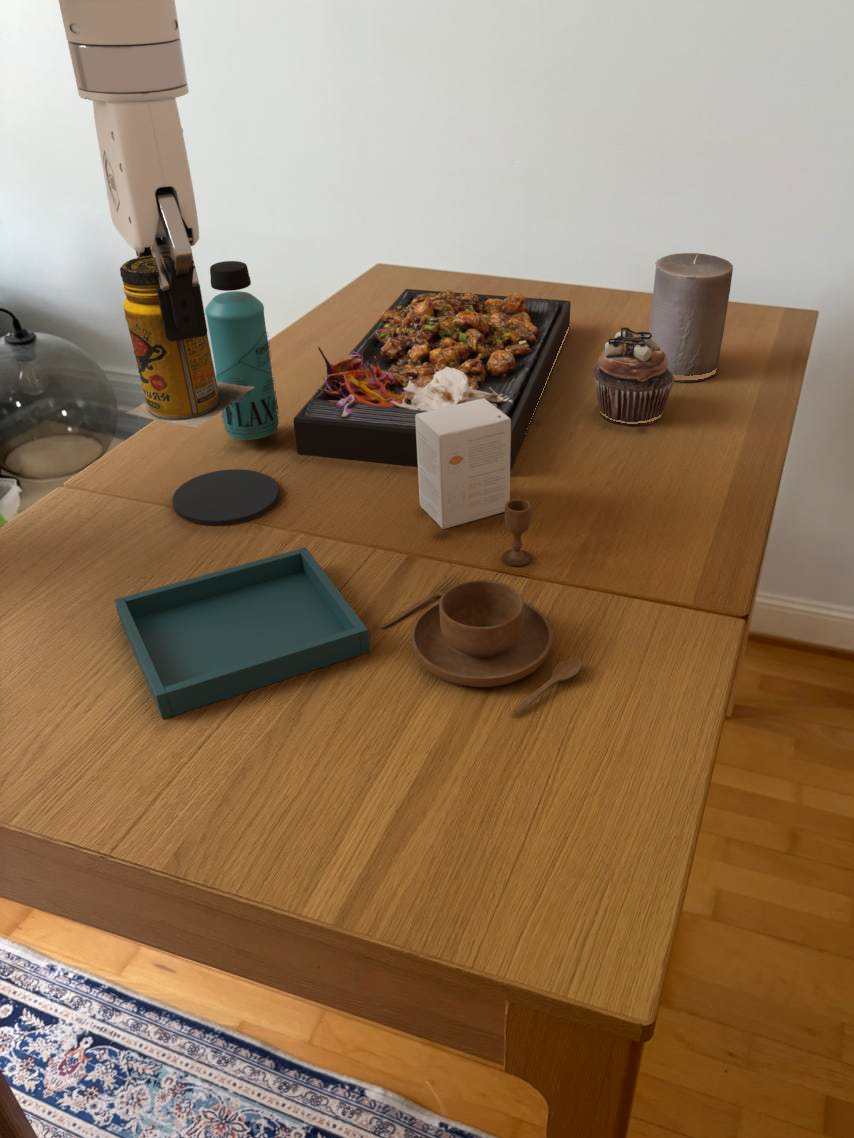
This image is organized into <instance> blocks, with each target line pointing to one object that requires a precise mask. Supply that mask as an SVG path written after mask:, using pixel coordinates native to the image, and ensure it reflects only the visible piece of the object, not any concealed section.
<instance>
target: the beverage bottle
mask: <svg viewBox="0 0 854 1138" xmlns="http://www.w3.org/2000/svg"><path fill="white" fill-rule="evenodd" d="M209 275H210V276H209V277H210V287H211V288H212V289H214V290H216V291H221V292H222V291H223V292H222V293H219V294H217V295H215V296H214V297H213V298H212V299H211V300H210V301H209V302H208V303H207V305H206V306H205V308H204V314H205V317H206V322H207V326H208V327H207V328H208V332H209V333H208V334H209V339H210V344H211V350H212V355H213V356H212V358H213V364H214V370H215V377H216V382H222V383H227V384H235V385H240V386H245V387H246V386H251V387H254V388H253V389H251V390H249V391H248V392H247V393H246V394H245V395H244V396H242V397H241V398H239V399H237V400H236V401H234V402H232V403H231V404H230V405H229V406H228V407H226V408H225V409H224V410H223V411H220V413H221V415H220V416H221V423H223V429H224V430H225V431H226V433H227V435H228V436H230V437H231V438H234V439H237V440H243V441H251V440H258V439H263V438H267V437H269V436H271V435H272V434H274V433H275V432H277V430H278V428H279V422H280V420H281V419H280V417H279V416H280V413H279V405H278V398H277V391H276V390H277V388H275V384H276V382H275V378H274V376H273V370H272V369H273V367H272V362H271V360H272V352H271V349H270V348H271V344H270V340H269V339H268V337H269V334H268V332H267V326H266V318H265V305H264V303H262V301H261V300H260V299H258V298H257V297H256V296H255V295H253V294H251V293H249V292H247V291H239V290H243V289H246V288H248V287H250V286H251V285H252V281H251V277H250V273H249V268H248V265H247V264H246V263H245V262H242V261H240V260H239V261H238V260H225V261H224V260H223V261H219V262H216V263H214V264H212V265H210V267H209Z"/></svg>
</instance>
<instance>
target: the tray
mask: <svg viewBox="0 0 854 1138" xmlns="http://www.w3.org/2000/svg"><path fill="white" fill-rule="evenodd" d="M114 604H115V608H116V611H117V615H118V618H119V621H120V624H121V627H122V629H123V631H124V633H125V635H126V638H127V640H128V643H129V645H130V648H131V649H132V653H133V654H134V657H135V659H136V662H137V663H138V666H139V668H140V672H141V673H142V676H143V677H144V680H145V683H146V685H147V687H148V690H149V692H150V694H151V697H152V699H153V701H154V704H155V706H156V708H157V711H158V712H159V715H160V717H161V720H165V719H167V718H170V717H174V716H178V715H181V714H183V713H186V712H190V711H193V710H195V709H199V708H202V707H205V706H208V705H211V704H214V703H217V702H220V701H223V700H227V699H229V698H232V697H235V696H238V695H242V694H245V693H247V692H251V691H253V690H254V691H255V690H258V689H261V688H264V687H266V686H269V685H272V684H276V683H279V682H282V681H284V680H288V679H290V678H291V679H292V678H294V677H297V676H300V675H303V674H307V673H310V672H312V671H316V670H318V669H322V668H325V667H328V666H332V665H334V664H338V663H340V662H344V661H346V660H349V659H353V658H356V657H359V656H361V655H365V654H369V653H371V645H370V635H369V629H368V628H367V626H366V625H365V624H364V622H363V620H362V619H361V618H360V617H359V616H358V614H357V613H356V611H355V610H354V609H353V607H352V606H351V605H350V604H349V602H348V601H347V599H346V598H345V597H344V596H343V594H342V593H341V592H340V590H339V589H338V587H337V586H336V585H335V584H334V582H333V581H332V580H331V579H330V577H329V576H328V574H327V573H326V572H325V570H324V569H323V568H322V567H321V565H320V564H319V562H318V561H317V560H316V559H315V558H314V556H313V555H312V553H311V552H310V551H309V549H308V548H307V547H301V548H297V549H294V550H290V551H287V552H283V553H279V554H276V555H272V556H268V557H264V558H262V559H257V560H254V561H250V562H246V563H243V564H238V565H235V566H232V567H228V568H224V569H220V570H217V571H213V572H210V573H206V574H202V575H198V576H195V577H190V578H186V579H184V580H181V581H177V582H172V583H169V584H165V585H162V586H158V587H154V588H151V589H147V590H144V591H140V592H135V593H133V594H129V595H125V596H122V597H118V598H115V599H114Z"/></svg>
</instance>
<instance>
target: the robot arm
mask: <svg viewBox="0 0 854 1138" xmlns="http://www.w3.org/2000/svg"><path fill="white" fill-rule="evenodd" d="M58 5H59V9H60V14H61V19H62V23H63V28H64V32H65V37H66V41H67V46H68V50H69V55H70V60H71V65H72V69H73V74H74V79H75V83H76V88H77V93H78V97H79V98H81V99H84V100H89V101H92V108H93V117H94V124H95V131H96V137H97V143H98V149H99V155H100V160H101V166H102V172H103V177H104V184H105V189H106V194H107V200H108V207H109V213H110V217H111V220H112V223H113V226H114V228H115V229H116V230H117V232H118V233H119V234H120V235H121V237H122V238H123V239H124V241H125V242H126V243H127V244H128V245H129V246H130V247H131V248H132V249H133V250H134V251H135V255H136V258H138V257H143V256H148V255H152V256H153V260H154V264H155V268H156V272H157V276H158V280H159V284H160V287H161V288H157V289H156V290H157V295H158V300H159V305H160V311H161V316H162V321H163V326H164V332H165V336H166V338H167V339H168V340H169V341H178V340H184V339H190V338H196V337H203V336H205V335H206V334H207V335H208V327H207V326H208V325H207V319H206V313H205V308H204V302H203V296H202V290H201V285H200V280H199V277H198V272H197V269H196V268H197V267H196V265H195V260H194V255H193V250H192V247H194V246H195V245H196V244H197V242H199V240H200V228H199V227H200V226H199V219H198V212H197V211H198V210H197V206H196V205H197V204H196V199H195V193H194V187H193V186H194V185H193V179H192V175H191V168H190V163H189V158H188V153H187V148H186V141H185V138H184V129H183V126H182V123H181V122H182V121H181V117H180V112H179V108H178V103H177V98H180V97H182V96H186V95H188V93H189V91H190V90H189V85H188V79H187V72H186V67H185V65H186V64H185V59H184V54H183V53H184V51H183V46H182V40H181V33H180V26H179V21H178V13H177V6H176V0H58ZM162 255H170V256H171V259H167V264H165V265H164V261H163V257H162ZM165 268H166V269H165Z"/></svg>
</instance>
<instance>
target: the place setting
mask: <svg viewBox="0 0 854 1138" xmlns="http://www.w3.org/2000/svg"><path fill="white" fill-rule="evenodd" d="M531 516H532V504H531V503H530V502H529V501H528V500H525V499H522V498H514V499H510V501H508V502H506V504H505V512H504V524H505V528H506V530H507V531H508V532H509V533H511V534H512V537H513V538H512V541H511V543H510V544H511V548H512V549H510V550H509V549H508V550H507V551H504V553H502V555H501V556H502V557H501V559H502V562H503V564H506V565H508V566H510V567H515V568H516V567H517V568H519V567H520V568H521V567H524V566H527V565H528V564H529V563H531V561H532V555H531V554H530V552H528V551H526V550H523V549H522V548H523V541H522V535H523V534H524V533H526V532H528V530H529V528H530V525H531V518H532V517H531ZM453 576H454V577H453ZM452 577H453V578H452ZM460 578H461V576H459V577H458V574H456V575H455V573H453V574H452V575H450V576H449V577H448V578H447V579H446V580H445V581H443V583H441V584H440V585H439V586H438V587H436V588H435V589H434V591H433V592H431V593H430V594H428V595H426V596H425V597H423V598H422V599H420V600H419V601H417V602H416V603H414V604H412V605H411V606H410V607H408V608H406V609H404V610H403V611H401V612H400V613H398V614H396V615H395V616H393V617H392V618H390V619H388V621H386V622H385V623H383V624H382V625H381V626H380V627H381V628H382V629H385V628H388V627H390V626H391V625H393V624H395V623H396V622H398V621H400V620H401V619H402V618H404V617H406V616H408V615H409V614H411V613H412V612H413V611H415V610H416V609H418V608H420V607H421V606H422V605H424V604H426V603H427V602H428V601H430V600H432V599H434V598H435V597H440V599H439V600H438V601H436V602H434V603H433V604H431V605H429V606H428V607H426V608H425V609H424V610H423V611H422V612H421V613H420V614H419V615H418V616H417V617H416V618H415V620H414V622H413V623H412V626H411V629H410V645H411V648H412V651H413V652H412V653H413V654H414V656H415V657H416V659H417V661H418V662H419V663H420V664H421V666H423V668H424V669H426V670H427V671H428V672H430V674H432V675H433V676H436V677H438V678H439V679H440V680H441V679H442V680H444V681H446V682H449V683H452V684H455V685H459V686H464V687H470V688H471V687H473V688H489V687H490V688H492V687H500V686H504V685H508V684H511V683H515V682H518V681H520V680H522V679H524V678H526V677H528V676H529V675H531V674H533V673H534V672H535V671H536V670H538V669H539V668H540V666H542V665H543V663H544V662H545V661H546V659H547V658H548V656H549V654H550V651H551V649H552V644H553V636H554V635H553V630H552V626H551V623H550V621H549V620H548V618H547V617H546V615H544V613H542V612H541V611H540V610H539V609H538V608H537V607H535V606H534V605H532V604H530V603H529V602H527V601H525V600H524V599H523V596H522V595H521V594H520V593H519V592H518V590H516V589H515V588H514V587H512V586H510V585H508V584H506V583H504V582H500V581H496V580H490V579H473V580H466V581H463V579H464V578H463V577H462V578H461V579H460ZM458 580H459V581H458ZM462 581H463V582H462ZM582 665H583V660H582V658H581V657H579V656H575V657H574V656H573V657H569V658H567V659H563V660H562V661H560V662H558V664H556V666H555V667H554V668H553V671H552V673H551V677H550V678H549V679H548V680H547V681H546V682H545V683H544V684H542V685H541V686H540V687H539V688H538V689H536V690H535V691H534V692H532V694H530V695H529V696H527V697H526V698H525V699H524V700H523V701H521V702H520V703H519V704H518V705H517V706H516V707H514V709H513V710H512V711H511V713H510V716H512V717H514V716H516V715H518V714H520V713H521V712H523V711H524V710H525V709H526V708H528V707H529V706H530V705H531V704H532V703H534V702H535V701H536V700H537V699H538V698H539V697H540V696H541V695H542V694H543V693H544V692H546V691H547V689H549V688H550V687H551V686H553V685H555V684H556V683H560V682H565V681H568V680H570V679H572V678H573V677H575V676H576V675H577V674H578V673H579V672H580V671H581V668H582Z"/></svg>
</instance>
